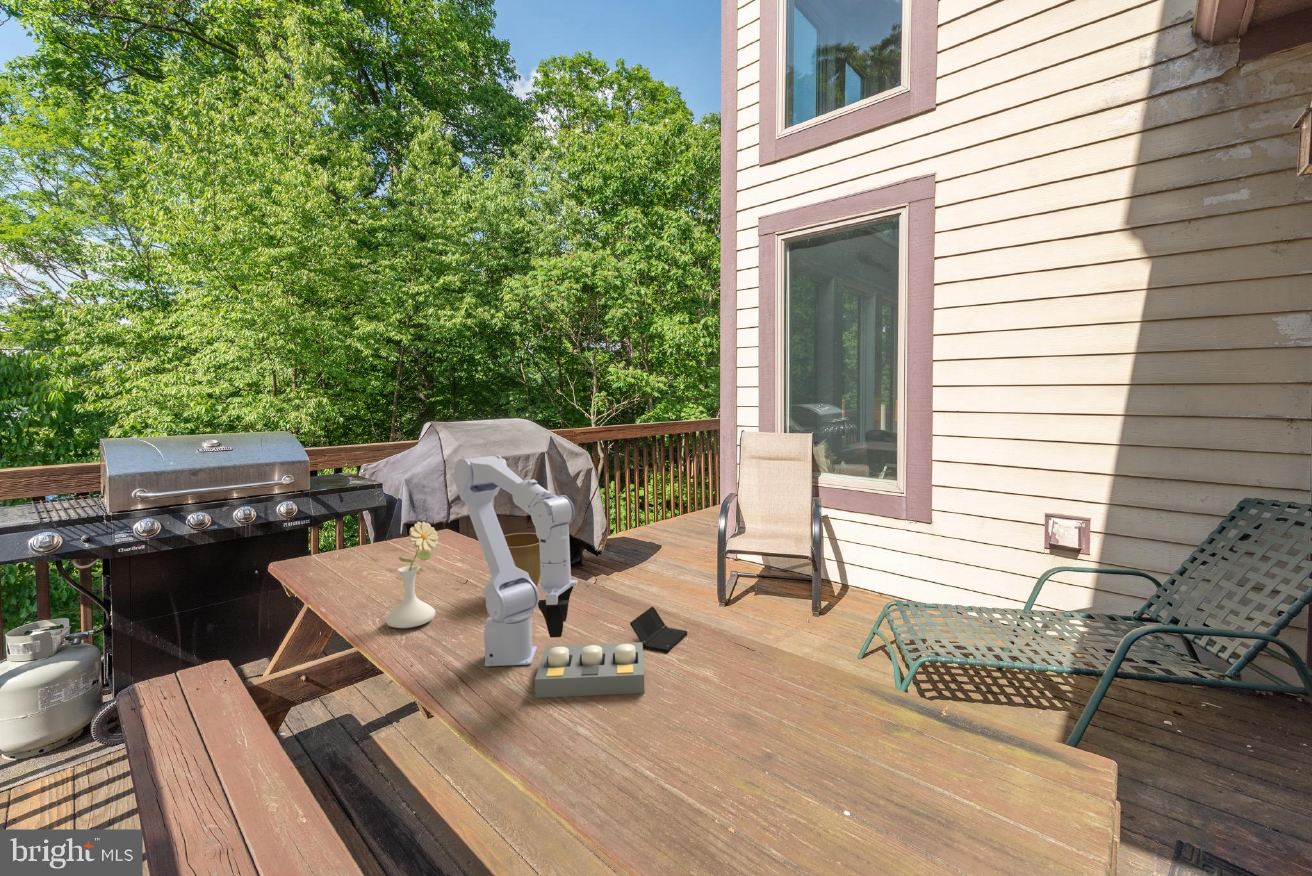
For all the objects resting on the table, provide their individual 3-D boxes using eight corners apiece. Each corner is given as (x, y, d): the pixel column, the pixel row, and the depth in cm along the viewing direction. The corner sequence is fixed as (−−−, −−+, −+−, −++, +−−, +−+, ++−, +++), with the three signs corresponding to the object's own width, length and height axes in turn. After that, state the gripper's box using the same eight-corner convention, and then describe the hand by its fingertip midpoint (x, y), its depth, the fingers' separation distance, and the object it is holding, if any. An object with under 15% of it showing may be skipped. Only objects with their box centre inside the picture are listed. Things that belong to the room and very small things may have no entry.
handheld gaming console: (677, 647, 120) (650, 606, 123) (651, 665, 122) (625, 624, 124) (690, 633, 131) (666, 596, 134) (666, 650, 133) (642, 613, 135)
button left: (546, 671, 109) (546, 656, 109) (549, 661, 113) (549, 647, 113) (568, 670, 109) (567, 655, 109) (570, 660, 113) (569, 646, 113)
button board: (535, 698, 104) (534, 678, 104) (546, 662, 118) (545, 645, 118) (644, 693, 105) (644, 673, 105) (642, 658, 119) (642, 641, 119)
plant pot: (484, 595, 160) (482, 539, 159) (532, 583, 170) (530, 530, 169) (508, 609, 149) (506, 549, 148) (558, 595, 158) (556, 539, 157)
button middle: (581, 669, 109) (580, 654, 109) (582, 660, 113) (582, 645, 113) (602, 669, 109) (601, 653, 109) (602, 659, 113) (602, 644, 113)
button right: (615, 668, 109) (614, 653, 109) (615, 659, 113) (615, 644, 113) (635, 667, 110) (635, 652, 109) (635, 658, 114) (635, 643, 113)
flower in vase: (394, 637, 133) (388, 531, 131) (379, 623, 141) (374, 523, 139) (449, 621, 141) (445, 522, 139) (433, 609, 150) (428, 515, 148)
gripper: (572, 569, 103) (575, 643, 103) (579, 549, 117) (582, 614, 118) (532, 571, 102) (536, 645, 103) (544, 550, 117) (547, 615, 118)
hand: (558, 628), depth 110 cm, fingers open, 7 cm apart
